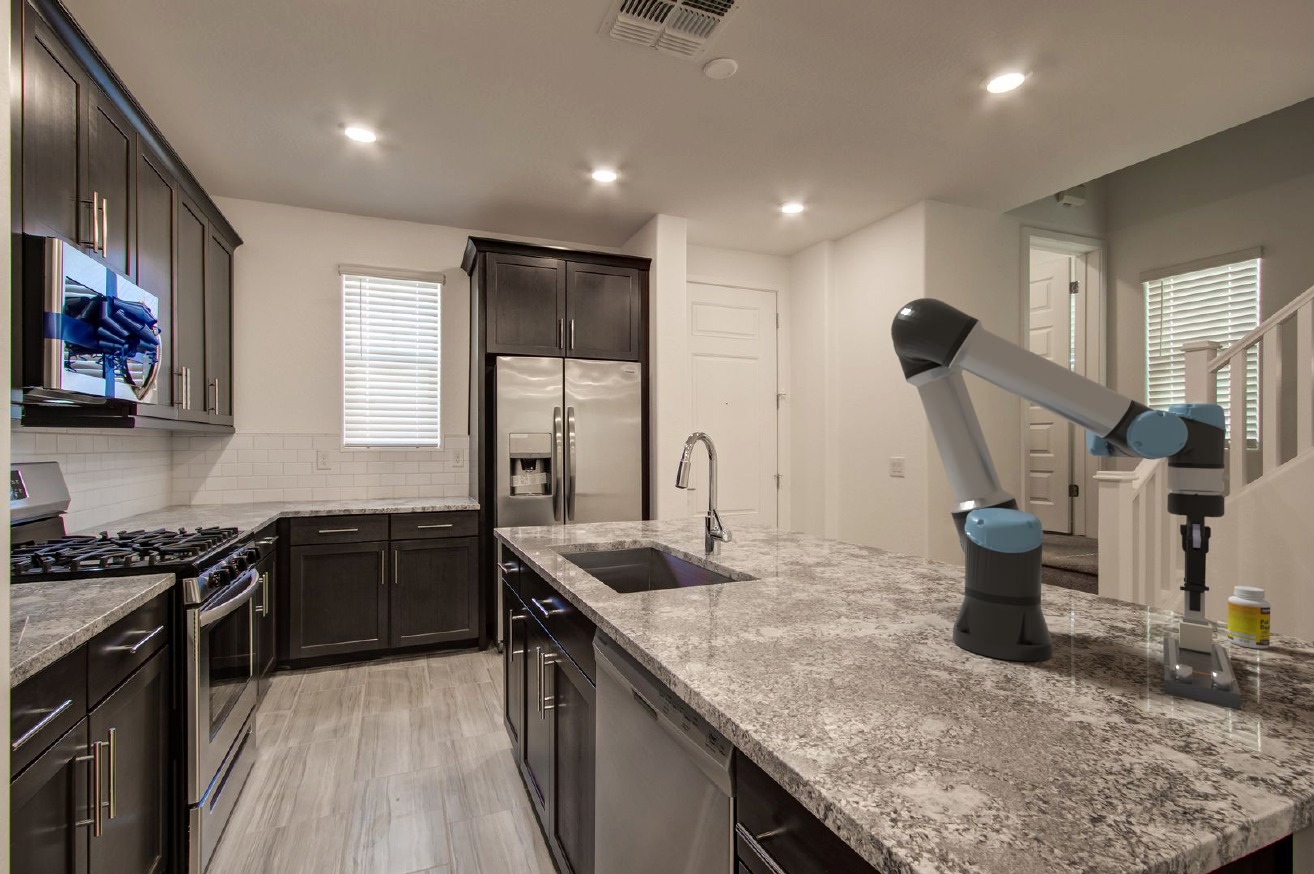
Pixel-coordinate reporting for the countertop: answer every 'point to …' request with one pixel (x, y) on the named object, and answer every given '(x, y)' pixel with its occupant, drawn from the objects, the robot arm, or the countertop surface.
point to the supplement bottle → (1249, 618)
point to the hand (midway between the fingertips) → (1194, 628)
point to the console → (1200, 674)
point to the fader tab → (1195, 635)
